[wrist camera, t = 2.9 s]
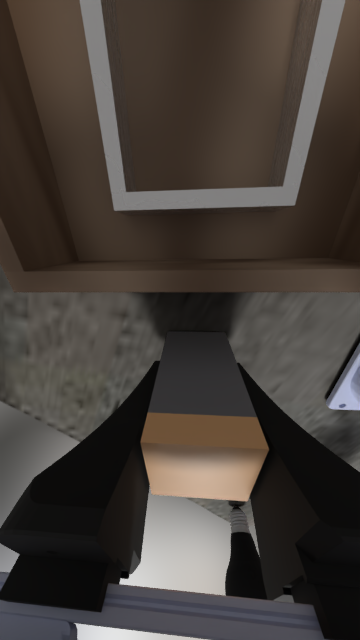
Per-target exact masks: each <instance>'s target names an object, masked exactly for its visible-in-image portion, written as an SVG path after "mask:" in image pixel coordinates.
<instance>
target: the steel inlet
mask: <svg viewBox="0 0 360 640" xmlns="http://www.w3.org/2000/svg"><path fill="white" fill-rule="evenodd" d="M344 4H345V0H301V3H300V9H299V14H298V20H297V26H296V31H295V37H294V42H293V48H292V54H291V59H290V65H289V71H288V76H287V82H286V87H285V93H284V99H283V104H282V110H281V116H280V121H279V127H278V132H277V138H276V144H275V149H274V155H273V160H272V166H271V172H270V177H269V183H268V187H256V188H227V189H199V190H171V191H143V192H136V186H135V177H134V168H133V159H132V150H131V141H130V132H129V122H128V113H127V104H126V95H125V86H124V77H123V68H122V59H121V50H120V41H119V31H118V22H117V13H116V4H115V0H80V6H81V13H82V19H83V25H84V31H85V37H86V43H87V49H88V55H89V61H90V67H91V73H92V79H93V85H94V91H95V97H96V103H97V110H98V116H99V122H100V128H101V134H102V140H103V146H104V152H105V158H106V164H107V170H108V176H109V182H110V188H111V194H112V200H113V207H114V211H116V212H119V213H122V214H124V215H159V214H196V213H232V212H269V211H279V210H282V209H285V208H288V207H291V206H295V203H296V199H297V195H298V191H299V187H300V183H301V178H302V174H303V170H304V166H305V162H306V158H307V154H308V150H309V146H310V142H311V138H312V134H313V130H314V126H315V122H316V118H317V114H318V110H319V106H320V101H321V97H322V93H323V89H324V85H325V81H326V77H327V73H328V69H329V65H330V61H331V57H332V53H333V49H334V45H335V41H336V37H337V33H338V29H339V24H340V20H341V16H342V12H343V8H344Z"/></svg>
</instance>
